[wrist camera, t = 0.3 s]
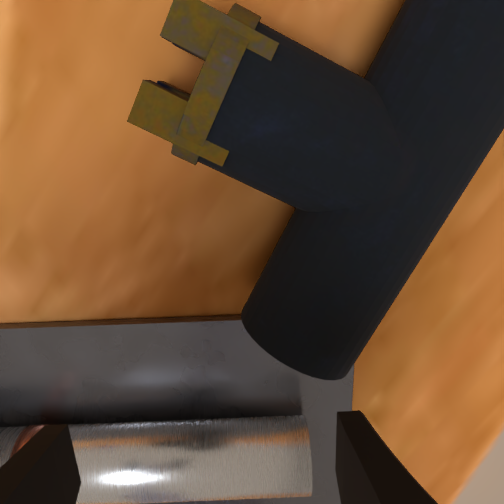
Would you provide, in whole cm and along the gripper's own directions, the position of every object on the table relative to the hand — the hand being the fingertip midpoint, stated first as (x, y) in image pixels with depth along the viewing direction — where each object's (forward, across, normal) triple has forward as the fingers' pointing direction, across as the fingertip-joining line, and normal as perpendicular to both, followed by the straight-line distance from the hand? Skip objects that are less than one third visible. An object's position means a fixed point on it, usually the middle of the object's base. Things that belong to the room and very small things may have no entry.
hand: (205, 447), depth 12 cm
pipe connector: (+10, -4, -7) cm, 13 cm away
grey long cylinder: (+9, +5, +8) cm, 13 cm away
